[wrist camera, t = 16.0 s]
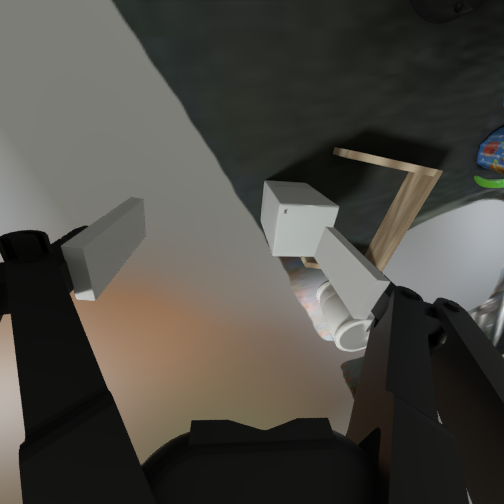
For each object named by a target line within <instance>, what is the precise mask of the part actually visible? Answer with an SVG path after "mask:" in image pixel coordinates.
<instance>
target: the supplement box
mask: <svg viewBox="0 0 504 504" xmlns="http://www.w3.org/2000/svg"><path fill="white" fill-rule="evenodd" d="M338 209H339V206H338V205H336V204H335V203H334V202H332V201H331V200H329V199H328V198H326V197H325V196H324V195H322V194H321V193H319V192H318V191H316V190H315V189H314V188H312V187H311V186H309V185H308V184H307V183H299V182H284V181H268V180H265V182H264V191H263V200H262V210H261V223H262V226H263V229H264V232H265V234H266V237H267V240H268V243H269V246H270V249H271V252H272V255H273V256H303V257H314V254H315V252H316V249H317V247H318V244H319V242H320V239H321V237H322V234H323V231H324V229H325V227H332V228H333V226H334V223H335V219H336V216H337V213H338Z"/></svg>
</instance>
